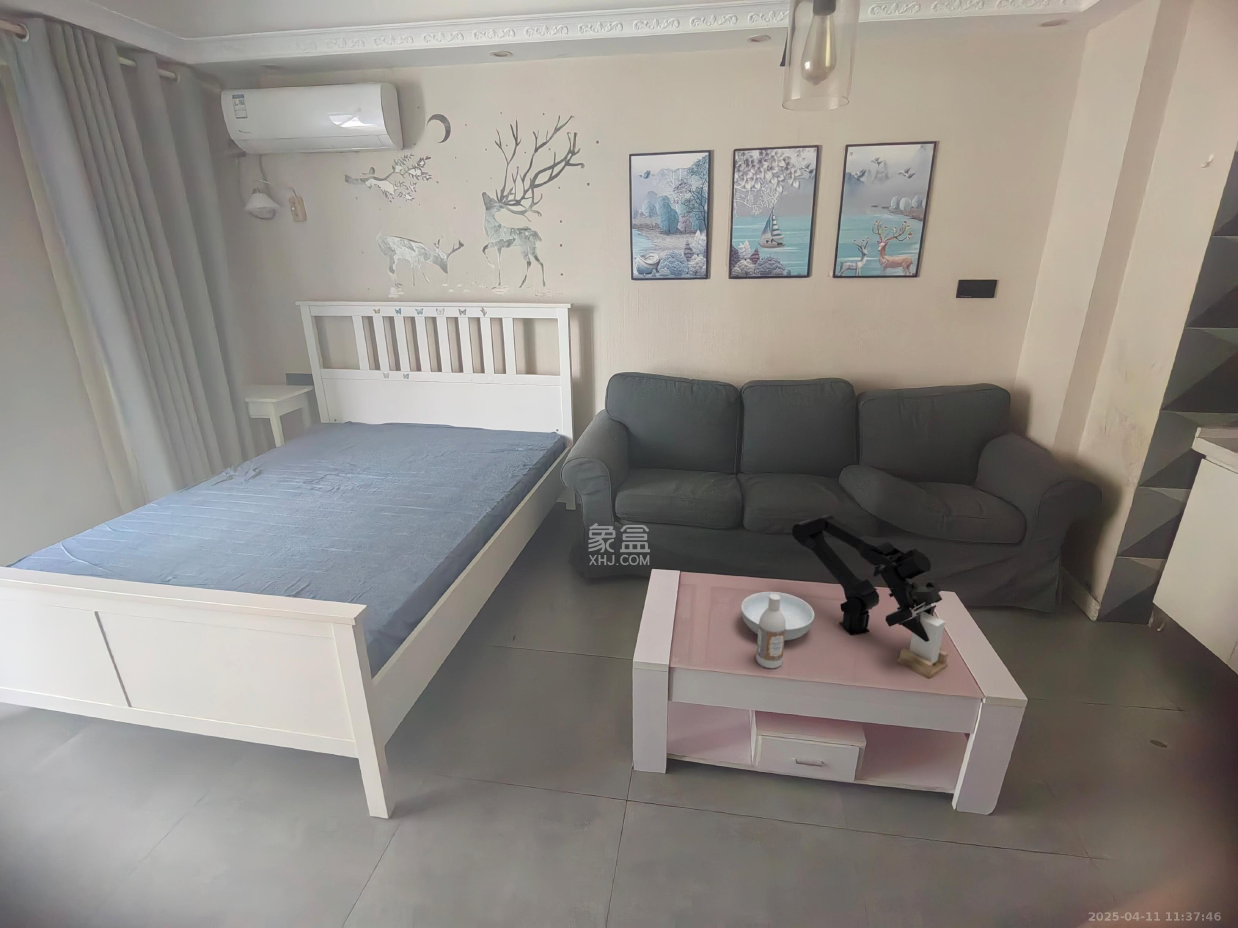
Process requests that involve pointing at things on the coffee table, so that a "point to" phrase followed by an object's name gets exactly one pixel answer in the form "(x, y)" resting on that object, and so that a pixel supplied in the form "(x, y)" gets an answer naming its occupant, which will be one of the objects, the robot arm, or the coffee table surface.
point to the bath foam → (771, 635)
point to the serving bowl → (791, 607)
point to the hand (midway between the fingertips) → (931, 638)
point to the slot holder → (923, 663)
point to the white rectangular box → (934, 634)
